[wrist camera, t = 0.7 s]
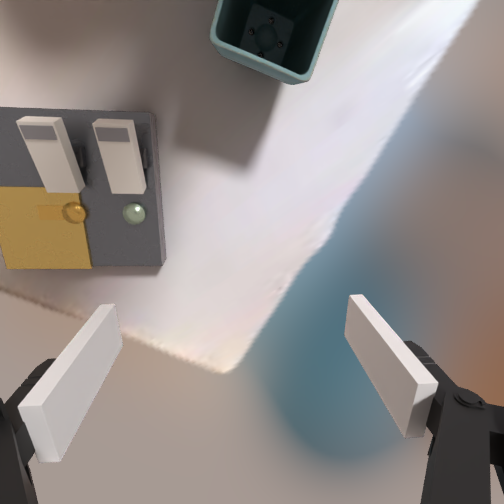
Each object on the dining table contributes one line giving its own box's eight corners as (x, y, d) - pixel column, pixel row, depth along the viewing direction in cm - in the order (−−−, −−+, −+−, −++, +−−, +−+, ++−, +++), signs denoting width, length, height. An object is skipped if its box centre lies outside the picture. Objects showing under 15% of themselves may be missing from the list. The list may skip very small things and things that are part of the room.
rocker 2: (98, 118, 28) (91, 124, 26) (133, 119, 28) (128, 125, 26) (116, 186, 32) (111, 194, 31) (146, 187, 32) (142, 194, 31)
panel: (-18, 108, 31) (-46, 104, 28) (155, 114, 32) (147, 111, 29) (20, 260, 37) (1, 270, 34) (166, 260, 38) (160, 270, 35)
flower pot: (289, 100, 33) (309, 84, 24) (213, 69, 31) (206, 40, 23) (320, 10, 30) (355, -43, 22) (239, -28, 29) (242, -101, 20)
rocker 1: (25, 116, 27) (14, 121, 26) (61, 117, 27) (52, 122, 26) (54, 185, 32) (46, 193, 30) (85, 185, 32) (78, 193, 30)
